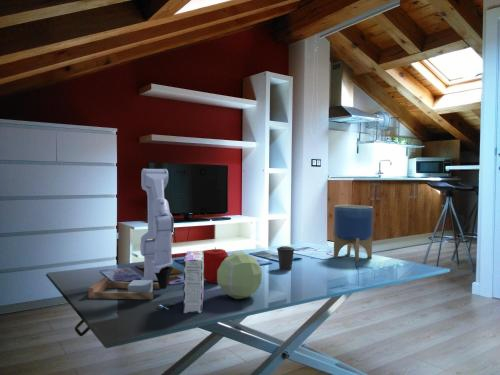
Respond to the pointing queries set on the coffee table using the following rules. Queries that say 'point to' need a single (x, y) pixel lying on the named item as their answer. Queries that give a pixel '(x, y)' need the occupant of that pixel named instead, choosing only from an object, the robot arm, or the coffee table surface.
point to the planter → (353, 228)
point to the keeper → (141, 286)
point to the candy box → (193, 281)
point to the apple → (213, 263)
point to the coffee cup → (285, 257)
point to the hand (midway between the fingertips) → (163, 288)
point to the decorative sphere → (239, 275)
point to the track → (104, 283)
